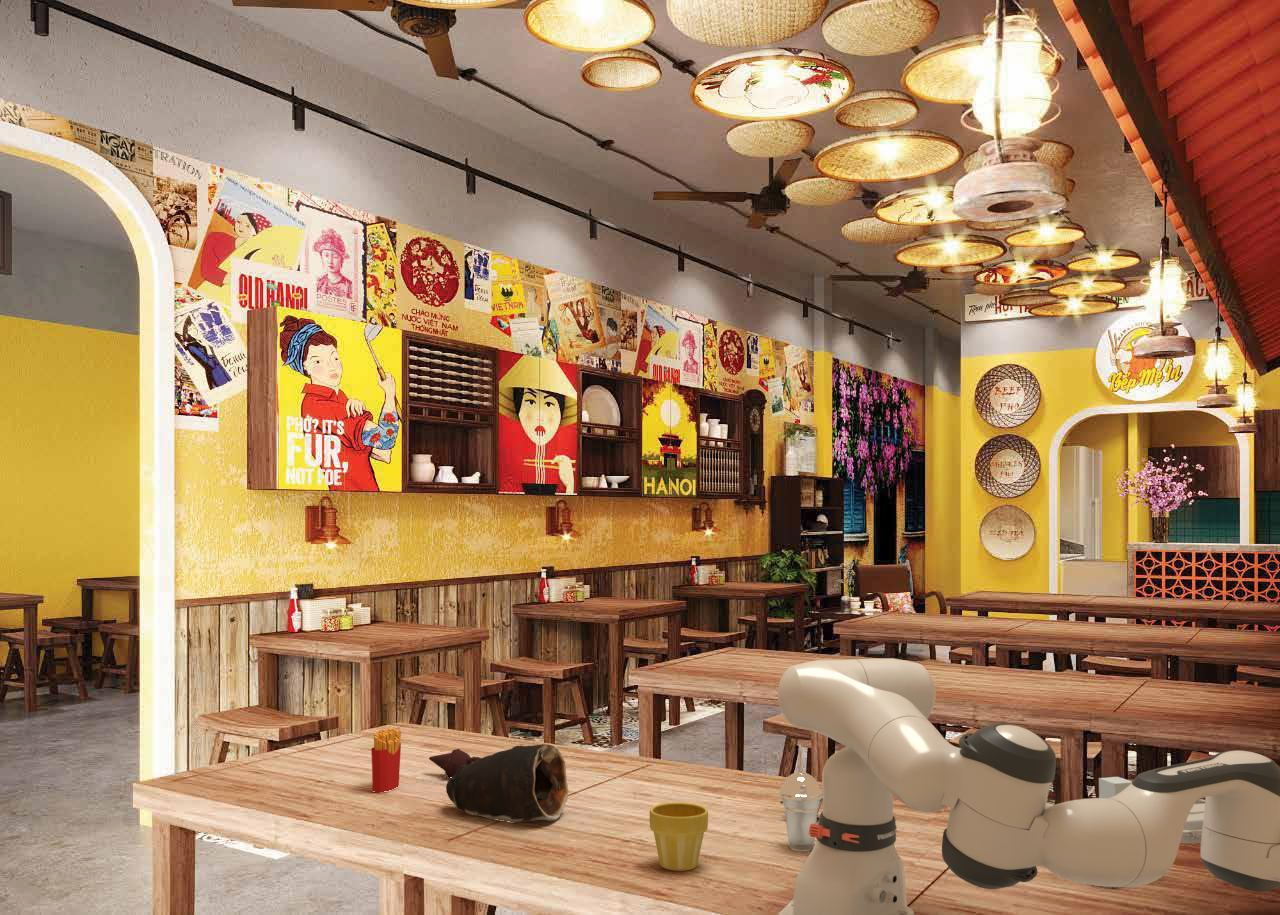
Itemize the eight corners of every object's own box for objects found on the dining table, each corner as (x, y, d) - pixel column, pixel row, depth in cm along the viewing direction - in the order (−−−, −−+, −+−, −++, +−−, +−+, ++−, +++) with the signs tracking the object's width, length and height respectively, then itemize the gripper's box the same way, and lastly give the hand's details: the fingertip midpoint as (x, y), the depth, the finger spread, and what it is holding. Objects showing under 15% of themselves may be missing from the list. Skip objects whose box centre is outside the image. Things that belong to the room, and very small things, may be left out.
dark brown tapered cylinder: (458, 744, 232) (560, 731, 223) (473, 813, 232) (576, 803, 223) (421, 768, 218) (528, 756, 209) (438, 841, 218) (545, 832, 209)
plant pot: (673, 851, 196) (673, 798, 197) (719, 863, 190) (719, 808, 190) (637, 866, 188) (637, 810, 189) (684, 879, 182) (684, 821, 182)
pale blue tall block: (1136, 875, 184) (1134, 782, 185) (1116, 878, 183) (1114, 783, 184) (1119, 868, 188) (1117, 776, 189) (1100, 870, 187) (1098, 778, 188)
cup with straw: (833, 847, 199) (832, 739, 200) (806, 858, 192) (806, 747, 193) (794, 838, 205) (794, 732, 206) (767, 848, 198) (767, 740, 199)
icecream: (419, 751, 249) (472, 763, 243) (437, 737, 256) (490, 749, 250) (420, 778, 251) (474, 791, 245) (439, 764, 257) (491, 776, 251)
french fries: (382, 794, 235) (383, 735, 236) (366, 792, 236) (367, 733, 237) (405, 784, 244) (406, 727, 244) (389, 783, 245) (390, 725, 246)
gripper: (1186, 858, 158) (1120, 831, 171) (1295, 846, 164) (1223, 821, 177) (1185, 815, 158) (1119, 791, 172) (1294, 805, 164) (1222, 782, 177)
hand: (1172, 806), depth 174 cm, fingers open, 8 cm apart
